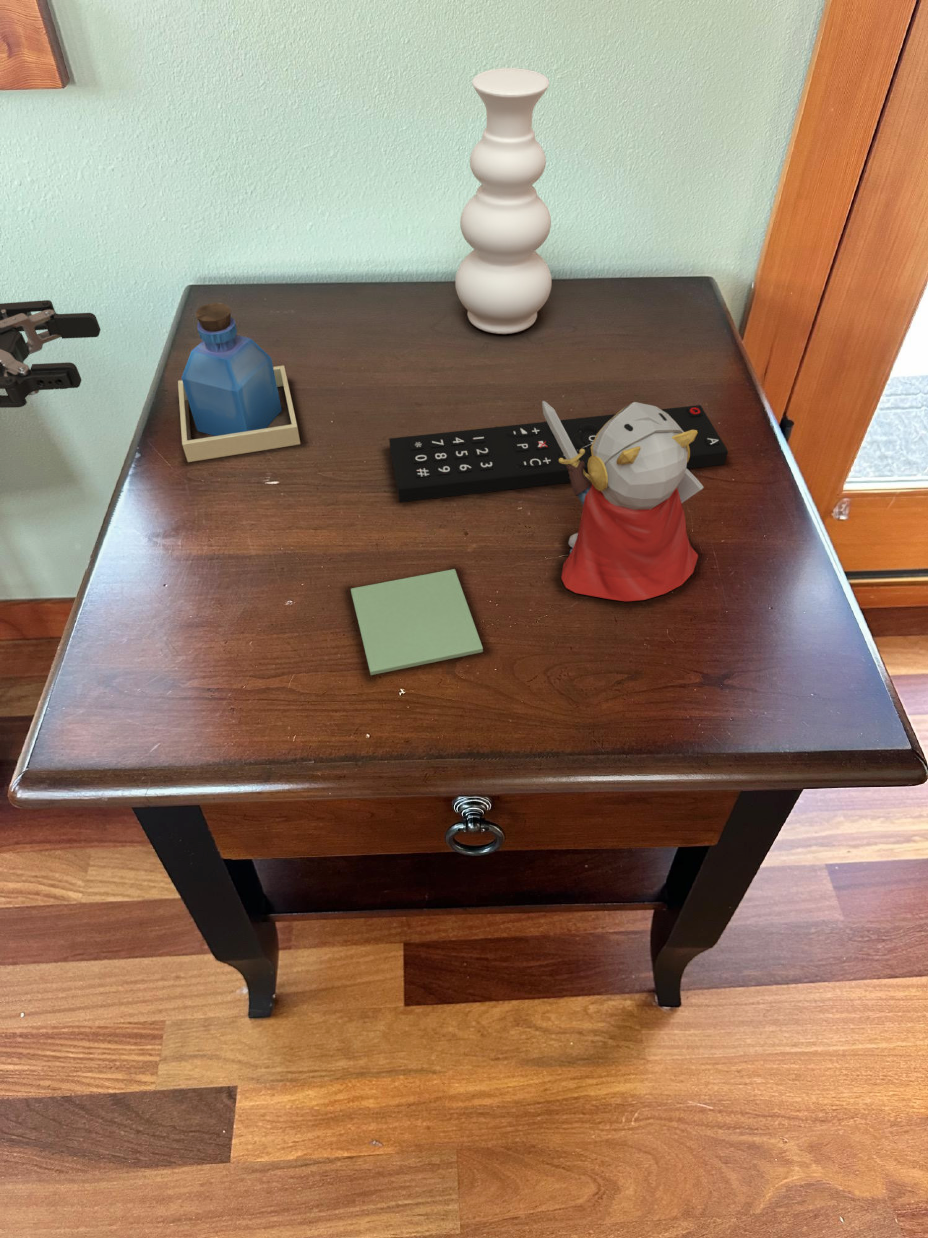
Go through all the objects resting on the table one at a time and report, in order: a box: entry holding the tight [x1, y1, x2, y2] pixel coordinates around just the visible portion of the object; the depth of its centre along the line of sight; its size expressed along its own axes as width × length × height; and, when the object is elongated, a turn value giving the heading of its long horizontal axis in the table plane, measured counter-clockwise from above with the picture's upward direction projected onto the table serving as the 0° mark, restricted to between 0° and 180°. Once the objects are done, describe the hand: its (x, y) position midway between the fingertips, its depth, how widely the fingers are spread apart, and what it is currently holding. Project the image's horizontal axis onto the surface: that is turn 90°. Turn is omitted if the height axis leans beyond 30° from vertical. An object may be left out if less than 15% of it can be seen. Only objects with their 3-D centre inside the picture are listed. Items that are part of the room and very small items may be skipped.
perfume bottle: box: [181, 302, 283, 436], centre depth 81 cm, size 6×6×12 cm
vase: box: [454, 67, 553, 335], centre depth 89 cm, size 11×11×25 cm
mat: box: [350, 568, 484, 676], centre depth 68 cm, size 9×9×1 cm
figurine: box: [541, 400, 704, 603], centre depth 67 cm, size 13×12×15 cm
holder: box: [177, 365, 301, 463], centre depth 85 cm, size 11×11×2 cm
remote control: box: [388, 404, 729, 503], centre depth 81 cm, size 8×32×2 cm, turn 100°
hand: (88, 348), depth 78 cm, fingers open, 8 cm apart
